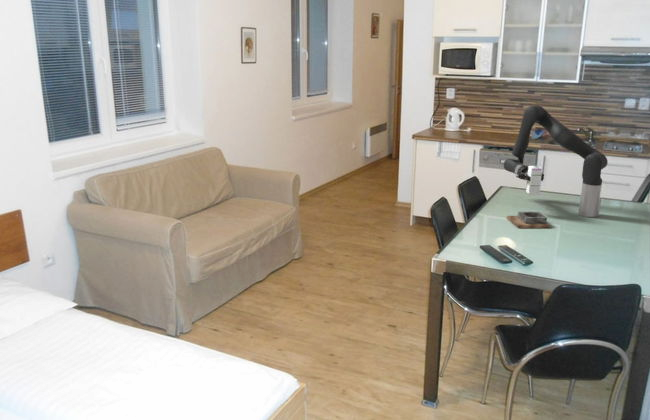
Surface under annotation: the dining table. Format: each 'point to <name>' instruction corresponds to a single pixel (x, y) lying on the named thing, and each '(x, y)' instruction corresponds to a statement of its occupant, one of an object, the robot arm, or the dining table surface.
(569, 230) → the dining table surface
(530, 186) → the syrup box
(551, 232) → the dining table surface
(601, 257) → the dining table surface
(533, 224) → the jig
